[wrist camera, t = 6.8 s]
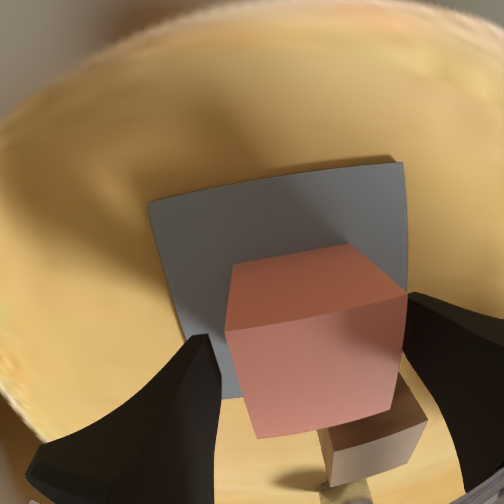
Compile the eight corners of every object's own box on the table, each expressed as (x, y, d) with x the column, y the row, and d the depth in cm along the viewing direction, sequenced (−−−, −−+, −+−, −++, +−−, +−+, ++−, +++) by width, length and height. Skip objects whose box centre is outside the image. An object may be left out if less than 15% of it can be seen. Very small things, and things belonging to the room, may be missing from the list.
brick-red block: (349, 243, 11) (408, 293, 7) (352, 338, 13) (390, 409, 8) (233, 264, 12) (224, 331, 7) (254, 357, 13) (257, 439, 8)
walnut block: (393, 363, 14) (428, 419, 10) (383, 411, 16) (406, 463, 11) (314, 383, 15) (334, 451, 10) (316, 429, 16) (330, 487, 11)
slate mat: (397, 162, 11) (402, 162, 10) (394, 358, 14) (398, 363, 14) (150, 201, 11) (146, 203, 11) (210, 394, 15) (209, 400, 14)
